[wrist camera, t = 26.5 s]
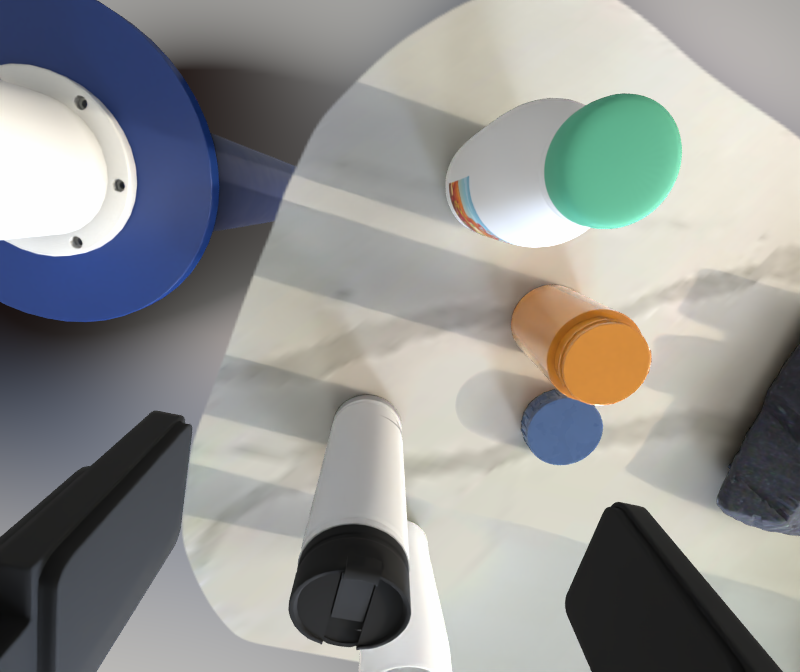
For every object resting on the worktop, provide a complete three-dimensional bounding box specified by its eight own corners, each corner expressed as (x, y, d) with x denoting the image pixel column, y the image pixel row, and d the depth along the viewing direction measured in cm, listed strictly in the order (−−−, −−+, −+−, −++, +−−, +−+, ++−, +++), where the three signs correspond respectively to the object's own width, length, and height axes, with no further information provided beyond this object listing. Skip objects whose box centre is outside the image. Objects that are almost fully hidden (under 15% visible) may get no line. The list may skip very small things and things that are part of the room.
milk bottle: (434, 145, 34) (496, 70, 15) (533, 120, 33) (730, 8, 14) (454, 245, 36) (531, 293, 17) (547, 222, 36) (734, 244, 16)
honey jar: (515, 364, 39) (559, 420, 29) (506, 292, 37) (550, 326, 27) (588, 350, 39) (659, 402, 29) (584, 277, 37) (658, 306, 27)
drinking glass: (429, 567, 45) (449, 735, 31) (364, 563, 45) (353, 732, 31) (437, 512, 43) (462, 665, 29) (369, 508, 43) (360, 661, 29)
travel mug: (409, 398, 40) (429, 579, 21) (392, 460, 42) (395, 679, 22) (341, 383, 39) (297, 555, 20) (327, 446, 41) (274, 660, 22)
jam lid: (568, 464, 42) (576, 476, 40) (507, 437, 41) (512, 448, 39) (608, 406, 41) (618, 415, 39) (545, 376, 40) (553, 384, 38)
